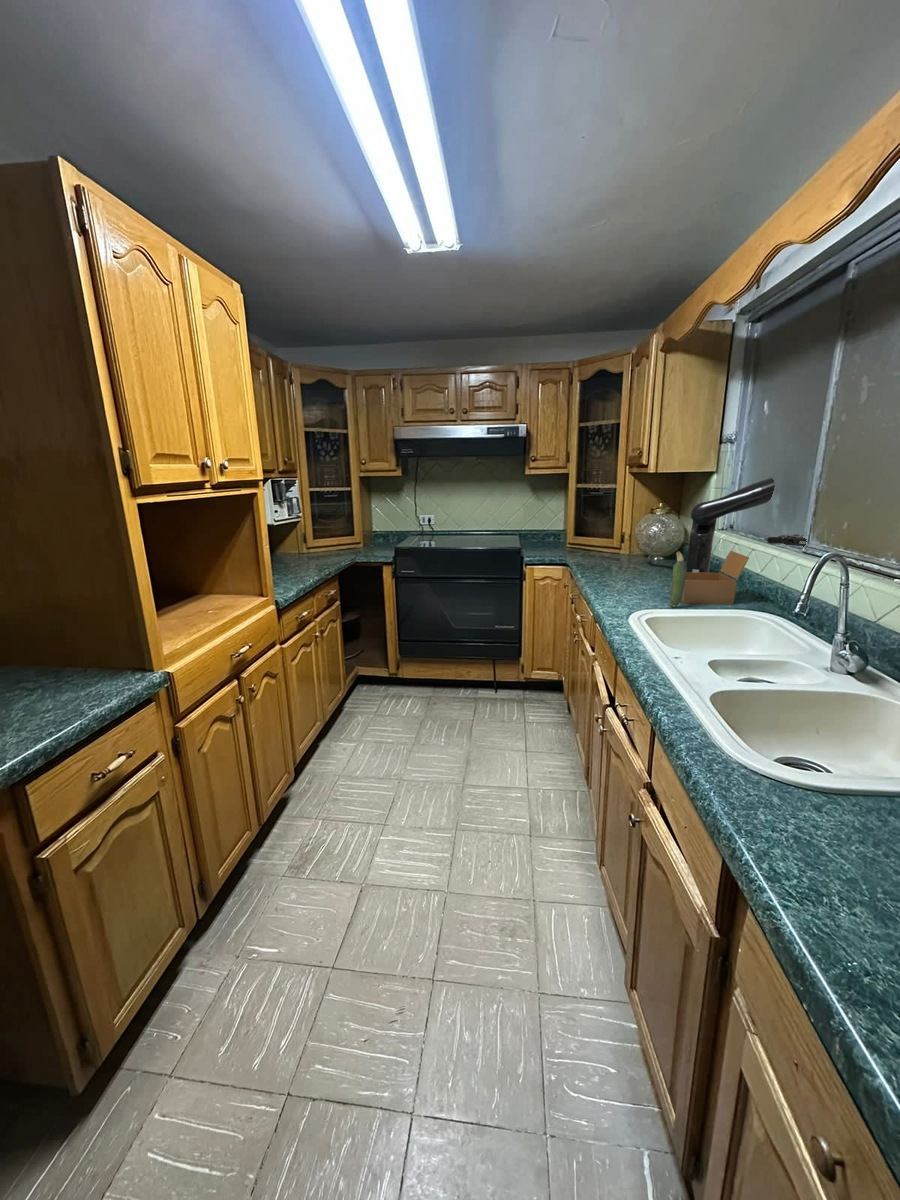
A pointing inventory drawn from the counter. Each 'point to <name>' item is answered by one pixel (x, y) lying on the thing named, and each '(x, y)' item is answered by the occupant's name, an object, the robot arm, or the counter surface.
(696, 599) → the carton
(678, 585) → the vegetable
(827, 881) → the counter surface
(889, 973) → the counter surface
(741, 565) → the flap
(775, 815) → the counter surface
